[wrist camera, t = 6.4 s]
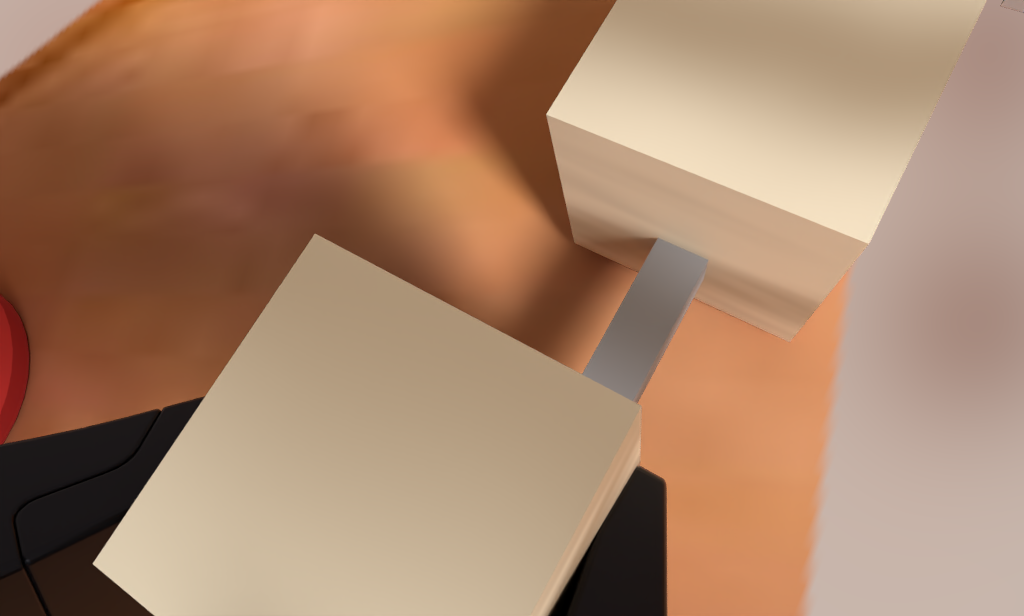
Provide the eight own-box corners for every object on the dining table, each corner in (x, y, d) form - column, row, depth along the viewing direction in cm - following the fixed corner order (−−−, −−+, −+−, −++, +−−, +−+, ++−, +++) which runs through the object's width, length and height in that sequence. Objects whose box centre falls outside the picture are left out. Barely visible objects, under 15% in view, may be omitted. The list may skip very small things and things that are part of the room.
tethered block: (637, 650, 15) (634, 1018, 4) (419, 508, 17) (-28, 462, 5) (886, 145, 17) (1332, -544, 6) (674, 70, 19) (726, -567, 8)
